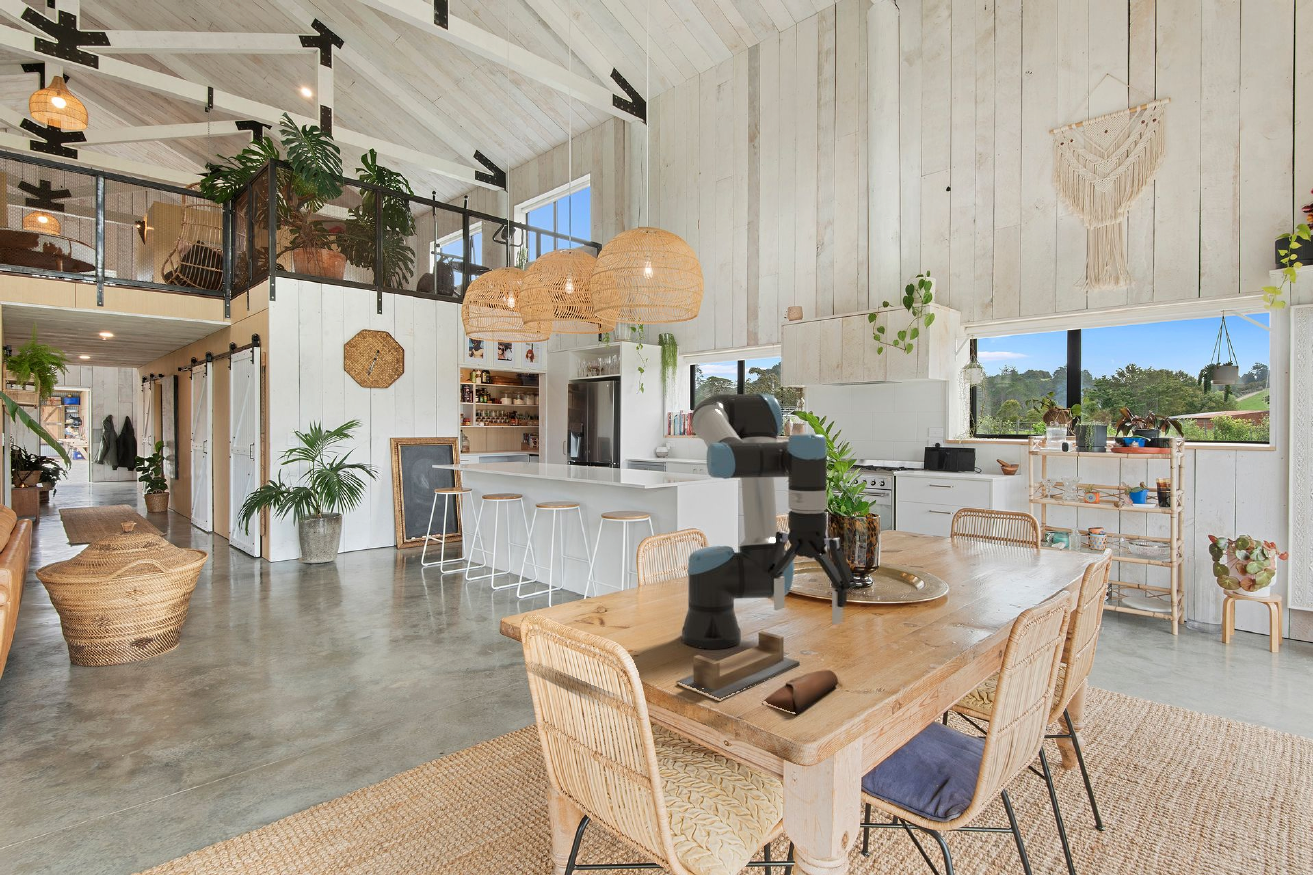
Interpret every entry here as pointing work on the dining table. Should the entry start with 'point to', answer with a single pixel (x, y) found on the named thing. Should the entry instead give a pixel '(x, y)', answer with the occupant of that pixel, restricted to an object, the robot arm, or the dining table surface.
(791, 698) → the sunglasses case
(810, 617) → the dining table surface
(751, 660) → the case stand
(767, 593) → the robot arm
